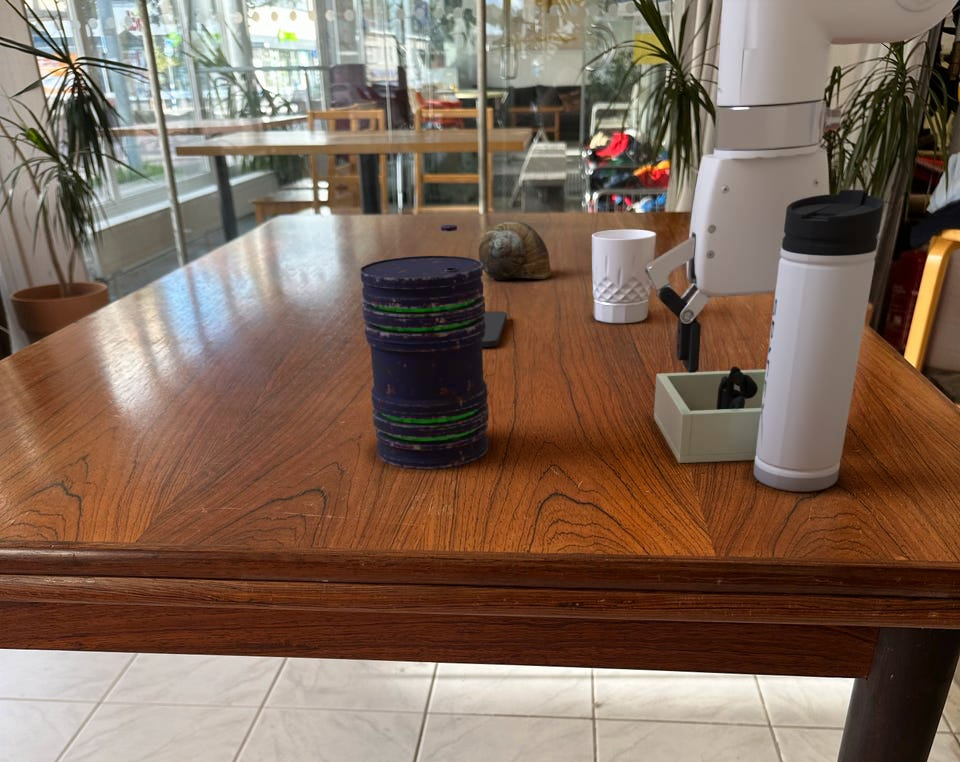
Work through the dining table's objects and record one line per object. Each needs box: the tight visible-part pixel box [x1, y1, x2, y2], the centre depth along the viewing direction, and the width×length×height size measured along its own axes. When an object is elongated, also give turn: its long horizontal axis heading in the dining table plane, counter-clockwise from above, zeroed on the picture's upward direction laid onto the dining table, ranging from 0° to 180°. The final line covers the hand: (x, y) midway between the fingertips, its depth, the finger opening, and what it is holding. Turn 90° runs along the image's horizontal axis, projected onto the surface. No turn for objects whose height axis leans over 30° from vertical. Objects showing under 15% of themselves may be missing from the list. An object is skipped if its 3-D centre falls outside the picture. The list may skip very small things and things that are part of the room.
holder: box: [653, 368, 766, 464], centre depth 80 cm, size 12×12×4 cm
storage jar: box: [359, 224, 490, 470], centre depth 77 cm, size 10×10×18 cm
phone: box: [482, 310, 508, 348], centre depth 116 cm, size 7×1×15 cm
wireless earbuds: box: [716, 365, 758, 410], centre depth 80 cm, size 7×2×5 cm, turn 179°
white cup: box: [591, 229, 657, 324], centre depth 118 cm, size 8×8×10 cm
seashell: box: [478, 220, 553, 281], centre depth 144 cm, size 11×9×8 cm
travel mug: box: [753, 188, 885, 493], centre depth 68 cm, size 6×7×20 cm
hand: (747, 364), depth 78 cm, fingers open, 9 cm apart
